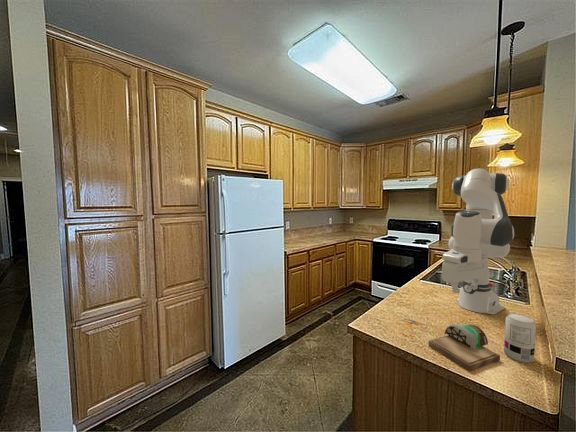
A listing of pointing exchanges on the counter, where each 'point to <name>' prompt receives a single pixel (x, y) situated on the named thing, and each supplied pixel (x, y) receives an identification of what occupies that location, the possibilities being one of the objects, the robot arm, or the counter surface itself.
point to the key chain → (415, 323)
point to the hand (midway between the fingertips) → (464, 290)
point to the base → (464, 353)
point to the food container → (467, 335)
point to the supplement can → (520, 337)
